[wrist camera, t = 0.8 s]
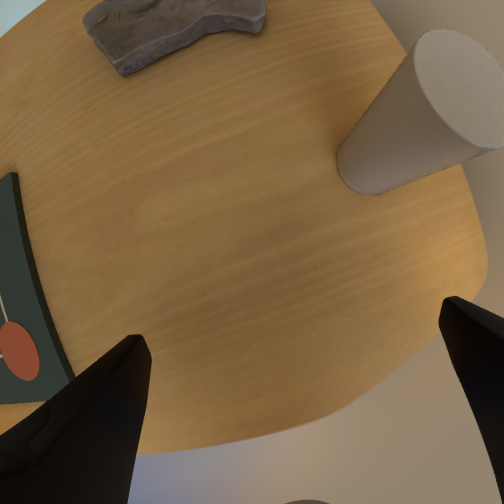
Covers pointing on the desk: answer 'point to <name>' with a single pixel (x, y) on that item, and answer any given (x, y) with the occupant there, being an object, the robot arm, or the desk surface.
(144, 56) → the stone
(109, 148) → the desk surface
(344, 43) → the desk surface
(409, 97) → the white upright cylinder
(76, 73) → the desk surface
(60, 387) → the board
